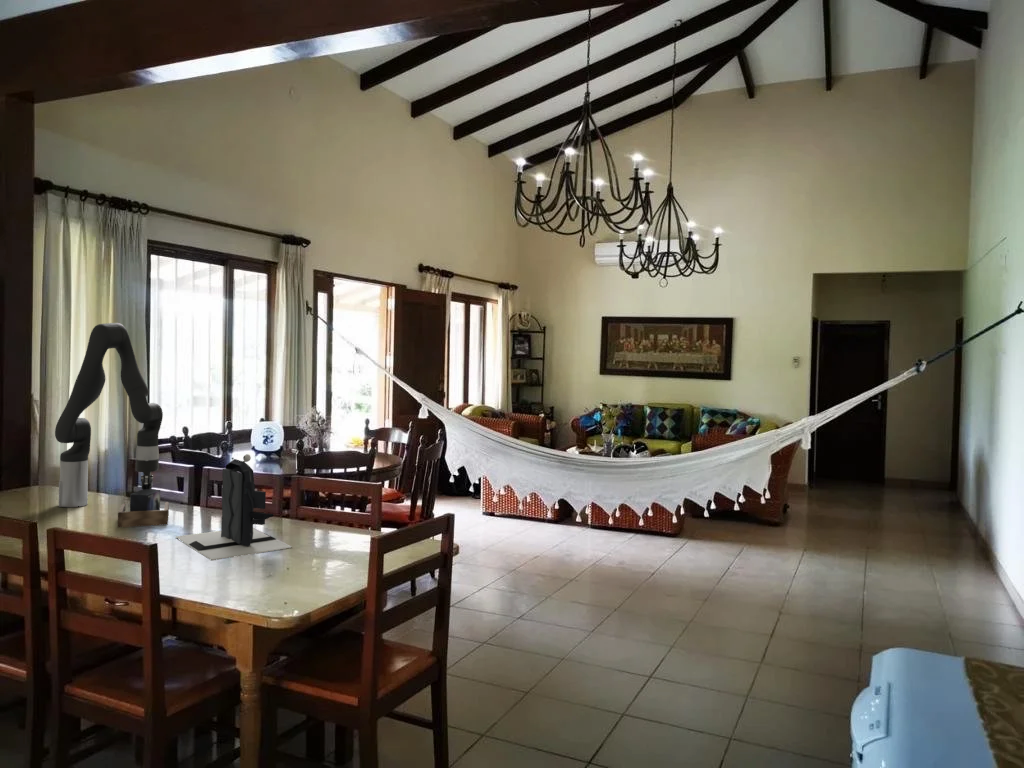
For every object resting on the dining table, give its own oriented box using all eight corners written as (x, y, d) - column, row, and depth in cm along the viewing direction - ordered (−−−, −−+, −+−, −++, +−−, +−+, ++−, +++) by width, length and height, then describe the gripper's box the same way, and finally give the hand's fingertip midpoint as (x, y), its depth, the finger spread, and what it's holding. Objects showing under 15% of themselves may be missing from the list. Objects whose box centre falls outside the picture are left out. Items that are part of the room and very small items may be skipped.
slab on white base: (175, 538, 247) (176, 451, 246) (251, 528, 264) (253, 447, 263) (211, 561, 223) (213, 464, 222) (292, 548, 240) (294, 459, 239)
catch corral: (117, 527, 258) (118, 512, 258) (121, 517, 272) (121, 504, 272) (167, 524, 264) (167, 510, 264) (168, 515, 278) (168, 502, 278)
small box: (147, 524, 263) (147, 494, 263) (128, 524, 263) (128, 494, 263) (160, 517, 274) (161, 489, 274) (142, 517, 274) (143, 488, 273)
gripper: (136, 455, 282) (136, 501, 283) (134, 460, 270) (134, 509, 271) (159, 455, 285) (158, 500, 286) (158, 460, 273) (157, 508, 274)
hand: (146, 504), depth 278 cm, fingers closed
